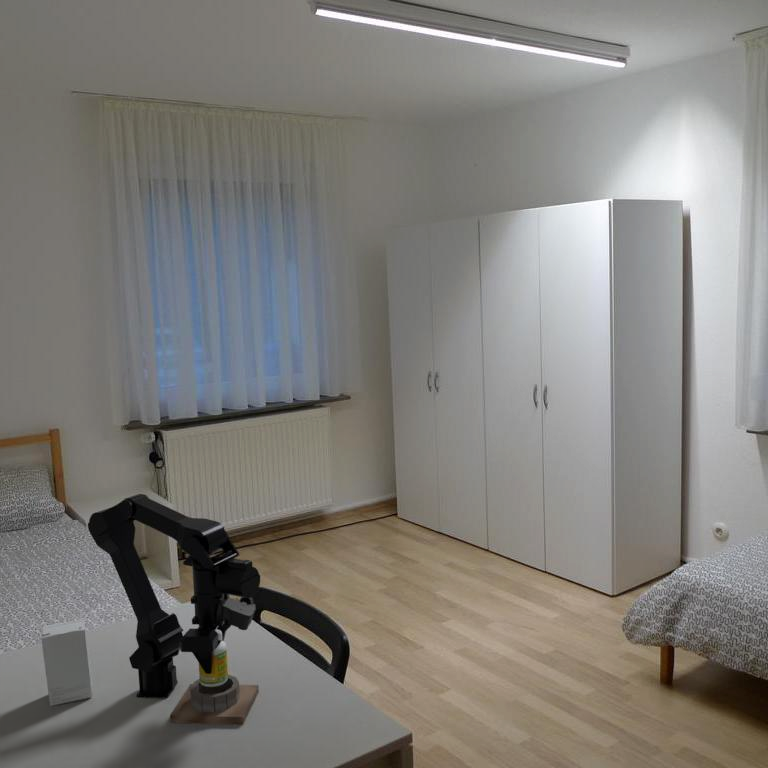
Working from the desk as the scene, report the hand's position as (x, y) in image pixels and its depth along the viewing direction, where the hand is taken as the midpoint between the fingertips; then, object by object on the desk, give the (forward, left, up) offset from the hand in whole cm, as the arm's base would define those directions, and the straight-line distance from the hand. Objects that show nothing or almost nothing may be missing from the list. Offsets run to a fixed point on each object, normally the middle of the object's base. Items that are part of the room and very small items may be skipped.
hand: (213, 666), depth 157 cm
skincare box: (-31, +3, -9) cm, 32 cm away
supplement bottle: (0, 0, -3) cm, 3 cm away
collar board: (0, 0, -8) cm, 8 cm away
